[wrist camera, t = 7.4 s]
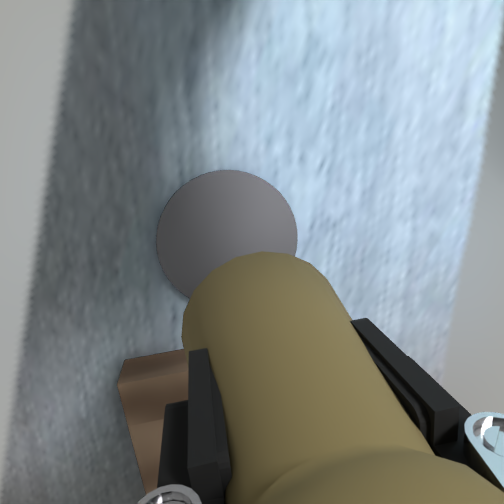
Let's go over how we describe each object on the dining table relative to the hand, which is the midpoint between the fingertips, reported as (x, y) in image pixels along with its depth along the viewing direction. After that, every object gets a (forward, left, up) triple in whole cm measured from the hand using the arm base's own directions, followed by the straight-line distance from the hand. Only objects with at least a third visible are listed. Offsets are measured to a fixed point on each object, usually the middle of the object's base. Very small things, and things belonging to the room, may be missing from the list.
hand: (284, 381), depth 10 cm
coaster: (0, 0, -16) cm, 16 cm away
